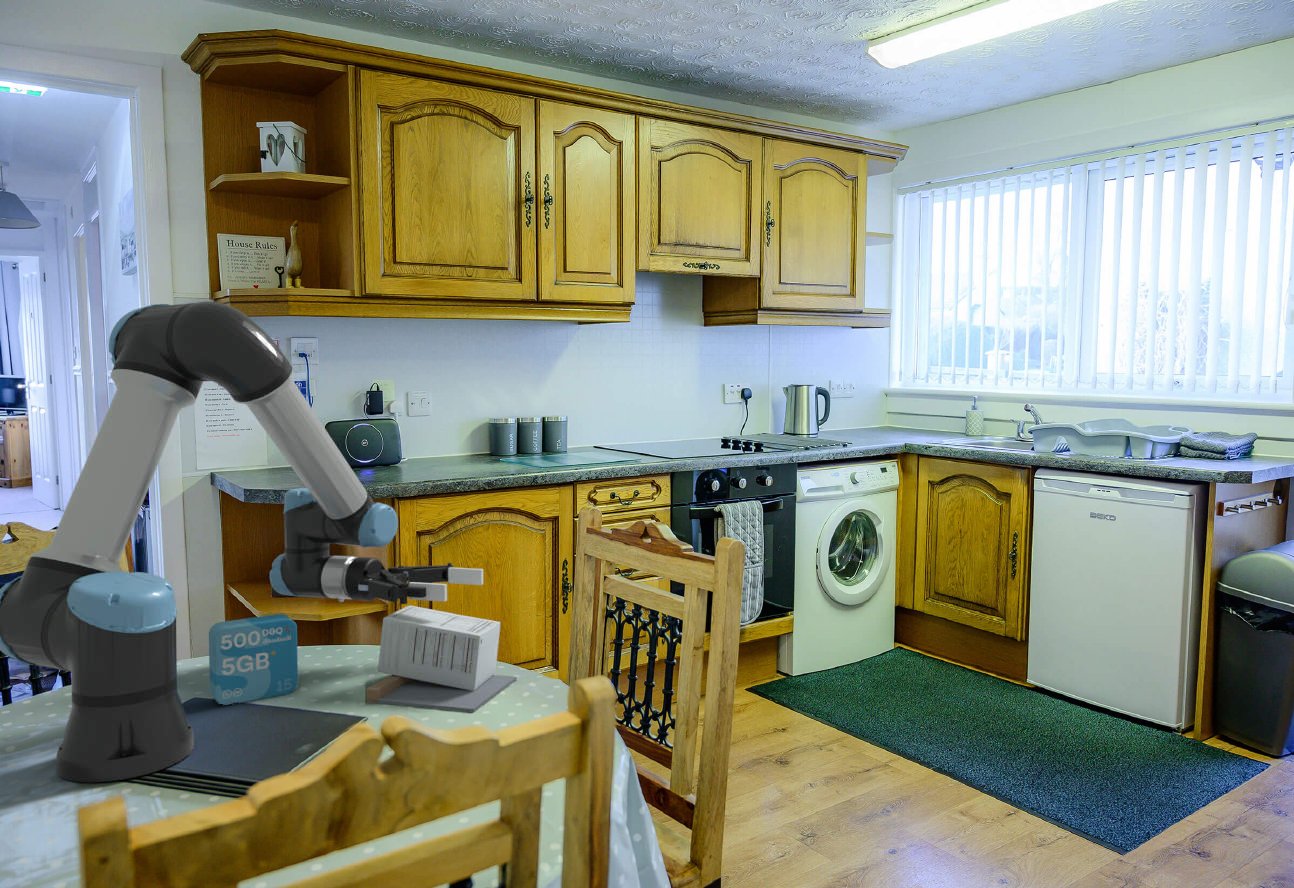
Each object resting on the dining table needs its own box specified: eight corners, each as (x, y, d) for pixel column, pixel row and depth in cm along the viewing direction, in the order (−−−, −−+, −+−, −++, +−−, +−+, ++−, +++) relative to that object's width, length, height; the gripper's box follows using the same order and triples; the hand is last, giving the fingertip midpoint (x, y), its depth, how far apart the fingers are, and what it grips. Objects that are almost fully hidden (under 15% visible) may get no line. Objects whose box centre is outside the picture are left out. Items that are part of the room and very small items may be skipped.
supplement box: (375, 673, 141) (473, 693, 137) (381, 617, 140) (479, 636, 136) (404, 656, 150) (496, 674, 146) (410, 603, 149) (502, 621, 146)
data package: (215, 708, 132) (214, 629, 131) (209, 700, 135) (208, 623, 135) (298, 692, 139) (297, 617, 138) (290, 685, 142) (289, 612, 142)
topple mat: (366, 701, 134) (366, 688, 134) (419, 671, 150) (418, 659, 150) (473, 712, 130) (473, 698, 130) (516, 679, 145) (516, 667, 145)
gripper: (393, 585, 167) (496, 591, 161) (311, 615, 143) (428, 623, 137) (392, 546, 166) (495, 550, 161) (310, 570, 142) (428, 576, 137)
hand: (465, 584), depth 149 cm, fingers open, 13 cm apart
